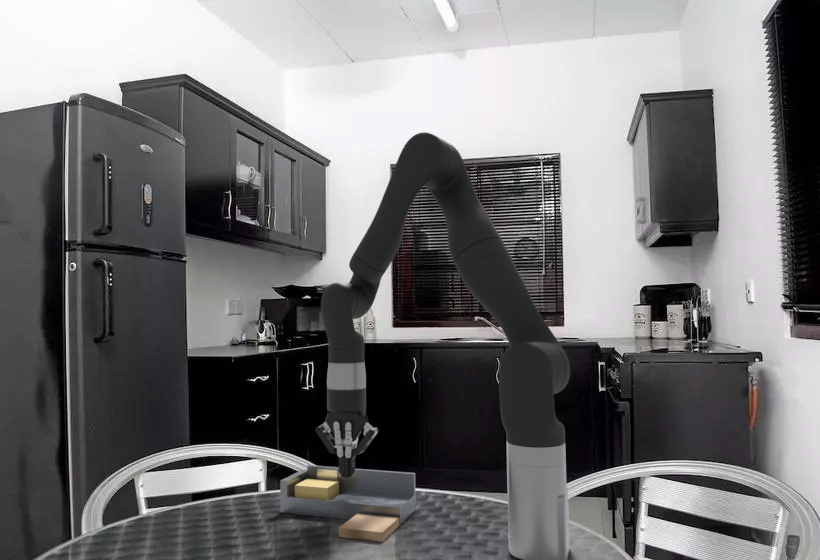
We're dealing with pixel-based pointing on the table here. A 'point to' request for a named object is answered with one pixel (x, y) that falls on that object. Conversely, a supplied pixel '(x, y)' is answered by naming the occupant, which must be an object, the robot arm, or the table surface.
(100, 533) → the table surface
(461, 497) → the table surface
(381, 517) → the pad
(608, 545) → the table surface
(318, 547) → the table surface
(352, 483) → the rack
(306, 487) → the yellow block with dome
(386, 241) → the robot arm
